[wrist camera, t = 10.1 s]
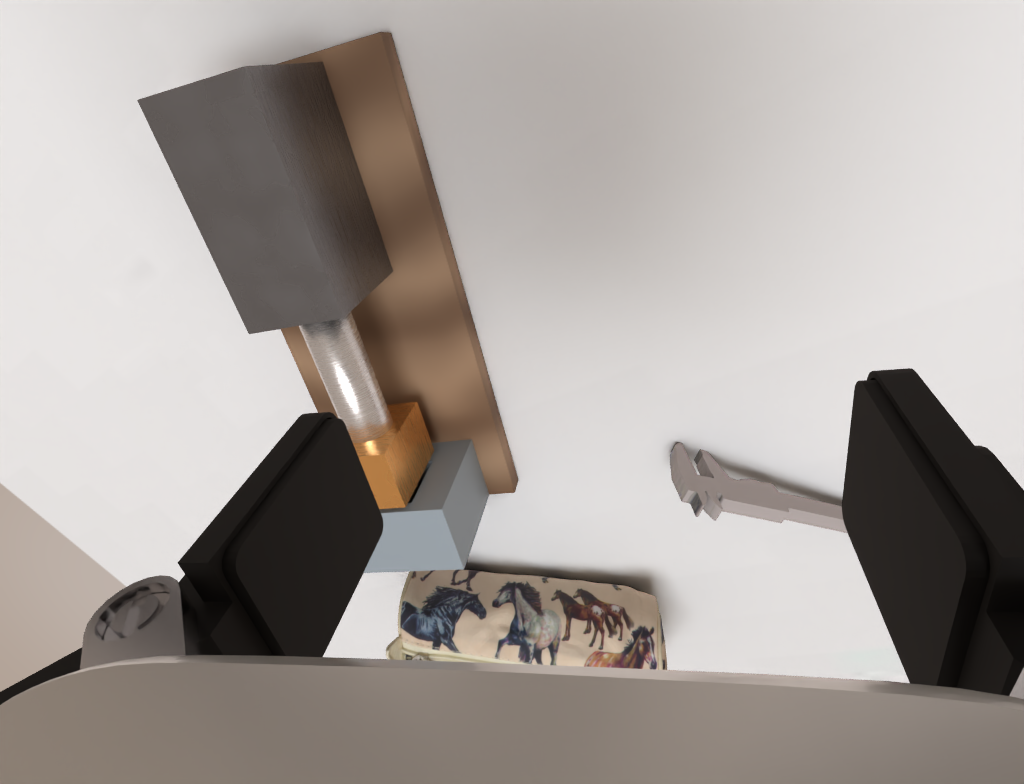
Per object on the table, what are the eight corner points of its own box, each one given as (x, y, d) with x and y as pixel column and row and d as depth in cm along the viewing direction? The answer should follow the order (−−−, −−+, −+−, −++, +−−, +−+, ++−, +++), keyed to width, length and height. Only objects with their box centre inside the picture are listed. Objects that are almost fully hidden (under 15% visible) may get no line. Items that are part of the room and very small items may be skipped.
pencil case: (425, 608, 55) (387, 708, 47) (414, 540, 51) (370, 636, 43) (668, 639, 51) (673, 754, 43) (678, 568, 47) (686, 681, 39)
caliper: (668, 450, 42) (673, 510, 37) (675, 438, 41) (680, 497, 36) (952, 545, 42) (999, 620, 36) (962, 533, 41) (1011, 608, 36)
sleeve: (232, 89, 33) (137, 100, 27) (322, 61, 32) (244, 66, 25) (312, 286, 39) (248, 333, 32) (393, 271, 37) (343, 318, 31)
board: (192, 93, 35) (175, 95, 34) (390, 32, 32) (380, 32, 30) (366, 491, 49) (358, 503, 48) (518, 479, 45) (514, 492, 44)
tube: (295, 255, 36) (238, 290, 31) (360, 242, 35) (312, 276, 30) (393, 493, 44) (361, 552, 39) (448, 489, 43) (422, 549, 38)
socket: (359, 450, 45) (313, 517, 38) (471, 439, 42) (441, 509, 36) (381, 501, 47) (340, 573, 41) (489, 494, 45) (464, 569, 38)
